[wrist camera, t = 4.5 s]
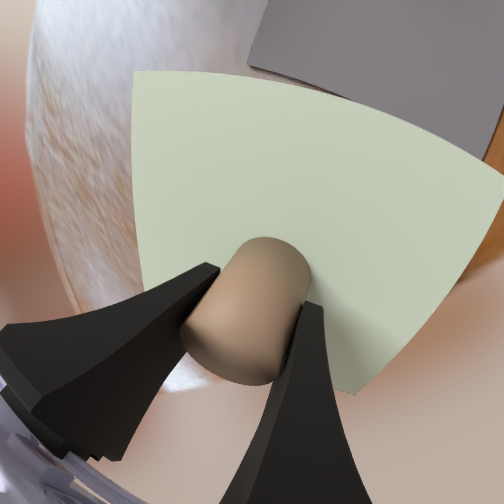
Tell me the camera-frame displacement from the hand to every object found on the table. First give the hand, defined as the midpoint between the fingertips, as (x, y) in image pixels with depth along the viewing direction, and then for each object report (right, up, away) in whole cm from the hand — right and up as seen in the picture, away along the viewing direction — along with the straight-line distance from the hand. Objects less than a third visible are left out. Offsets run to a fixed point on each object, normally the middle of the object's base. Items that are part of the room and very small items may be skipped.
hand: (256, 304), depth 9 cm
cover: (+1, +1, +1) cm, 2 cm away
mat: (+8, +15, -1) cm, 18 cm away
